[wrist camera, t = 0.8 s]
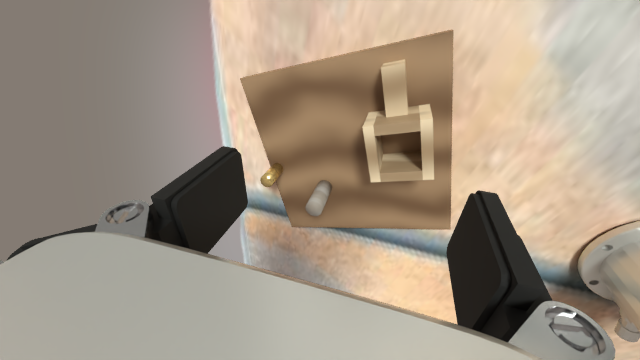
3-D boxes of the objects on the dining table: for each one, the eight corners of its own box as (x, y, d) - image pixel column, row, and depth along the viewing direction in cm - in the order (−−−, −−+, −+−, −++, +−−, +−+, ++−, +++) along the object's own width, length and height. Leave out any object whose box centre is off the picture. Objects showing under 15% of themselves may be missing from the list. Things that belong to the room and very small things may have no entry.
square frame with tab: (431, 158, 28) (434, 179, 25) (375, 162, 31) (370, 182, 27) (428, 54, 24) (431, 61, 20) (362, 67, 26) (354, 76, 22)
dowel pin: (284, 173, 35) (273, 186, 32) (274, 173, 36) (262, 187, 33) (281, 162, 34) (269, 175, 32) (271, 163, 35) (258, 176, 32)
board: (449, 223, 33) (456, 259, 28) (294, 221, 41) (278, 250, 36) (451, 29, 23) (463, 33, 18) (245, 76, 31) (213, 88, 26)
